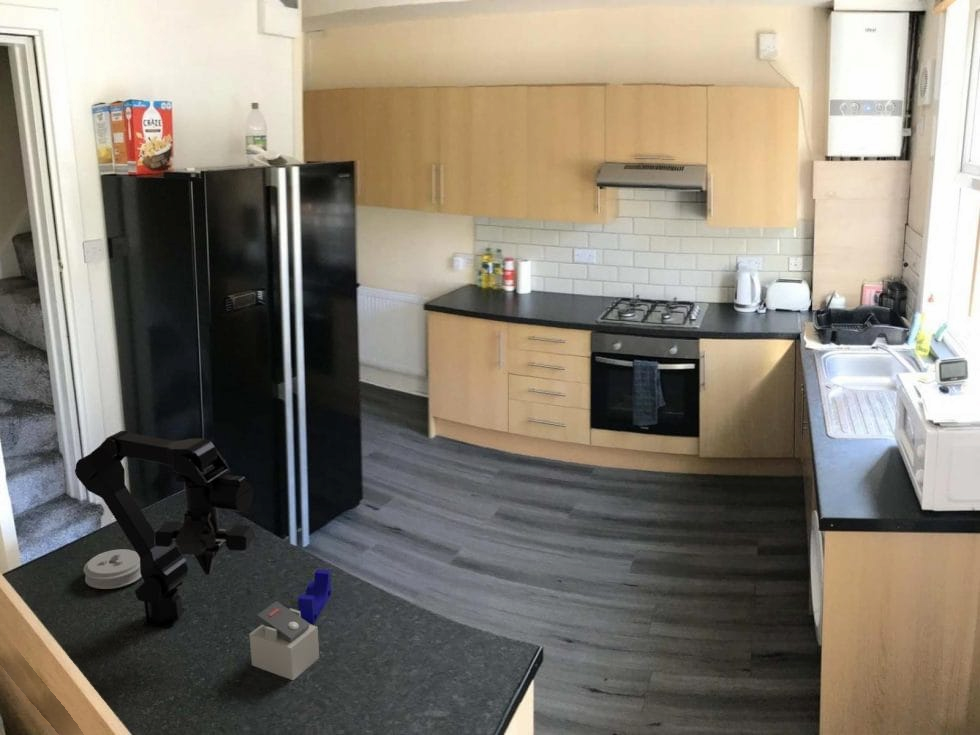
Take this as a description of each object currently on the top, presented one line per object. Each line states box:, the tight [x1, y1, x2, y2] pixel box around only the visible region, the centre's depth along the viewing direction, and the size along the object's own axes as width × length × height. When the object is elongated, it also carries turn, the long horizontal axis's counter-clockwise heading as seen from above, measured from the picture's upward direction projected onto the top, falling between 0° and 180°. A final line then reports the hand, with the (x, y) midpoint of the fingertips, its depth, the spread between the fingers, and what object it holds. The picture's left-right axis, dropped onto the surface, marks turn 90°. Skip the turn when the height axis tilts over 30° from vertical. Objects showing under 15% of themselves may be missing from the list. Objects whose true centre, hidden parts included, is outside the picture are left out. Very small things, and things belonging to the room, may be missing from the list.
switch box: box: [248, 608, 320, 681], centre depth 180 cm, size 10×8×9 cm
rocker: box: [255, 600, 311, 643], centre depth 178 cm, size 8×6×1 cm, turn 64°
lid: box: [83, 548, 142, 590], centre depth 210 cm, size 13×13×5 cm
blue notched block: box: [297, 568, 332, 625], centre depth 199 cm, size 12×4×6 cm, turn 171°
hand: (208, 573), depth 187 cm, fingers closed
